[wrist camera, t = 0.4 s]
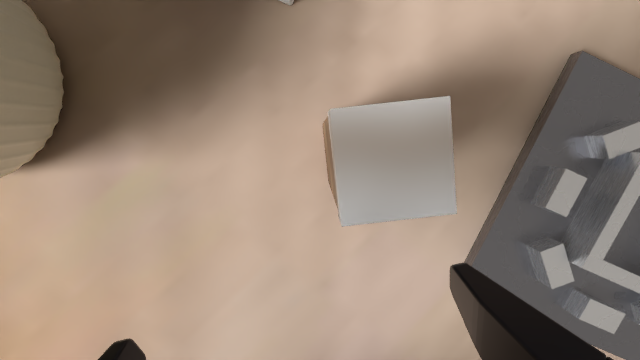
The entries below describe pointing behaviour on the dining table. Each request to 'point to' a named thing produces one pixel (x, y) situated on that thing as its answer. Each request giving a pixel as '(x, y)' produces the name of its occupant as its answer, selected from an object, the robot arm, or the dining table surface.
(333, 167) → the tan tall block
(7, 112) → the canister
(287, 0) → the light bulb box
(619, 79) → the grey square base plate
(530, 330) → the robot arm
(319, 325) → the dining table surface
